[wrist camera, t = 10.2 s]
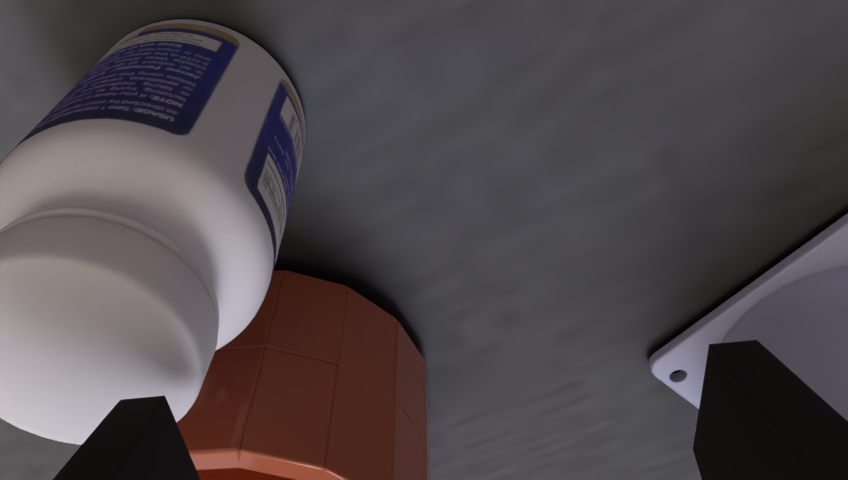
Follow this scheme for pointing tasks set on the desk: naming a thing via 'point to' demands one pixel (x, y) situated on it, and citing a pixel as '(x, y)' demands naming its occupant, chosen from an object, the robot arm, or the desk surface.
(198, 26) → the pill bottle
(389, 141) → the desk surface
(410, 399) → the plant pot
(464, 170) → the desk surface
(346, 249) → the desk surface
